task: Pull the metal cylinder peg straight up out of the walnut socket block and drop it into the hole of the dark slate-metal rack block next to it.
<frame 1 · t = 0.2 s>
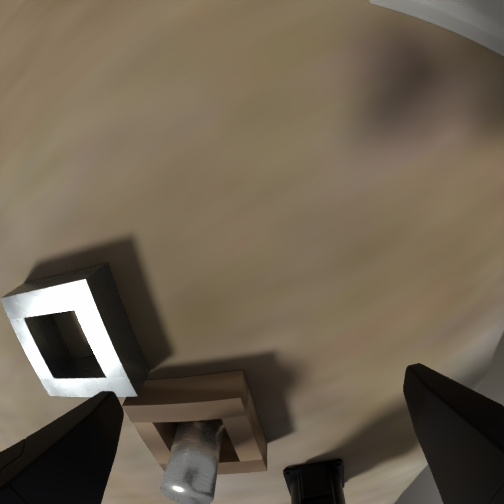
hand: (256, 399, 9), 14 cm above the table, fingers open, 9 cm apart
hinge: (454, 0, 16), on the table
metal cylinder peg: (195, 452, 23), in the socket block
rack block: (81, 327, 25), on the table
socket block: (203, 416, 27), on the table
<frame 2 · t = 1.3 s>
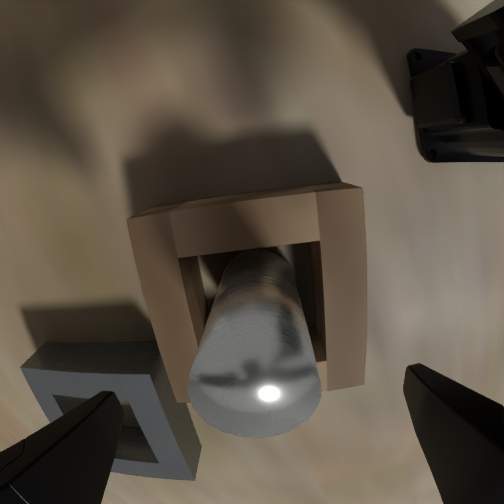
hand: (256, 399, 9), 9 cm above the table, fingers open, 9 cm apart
metal cylinder peg: (256, 325, 13), in the socket block
rack block: (121, 400, 20), on the table
socket block: (258, 285, 18), on the table
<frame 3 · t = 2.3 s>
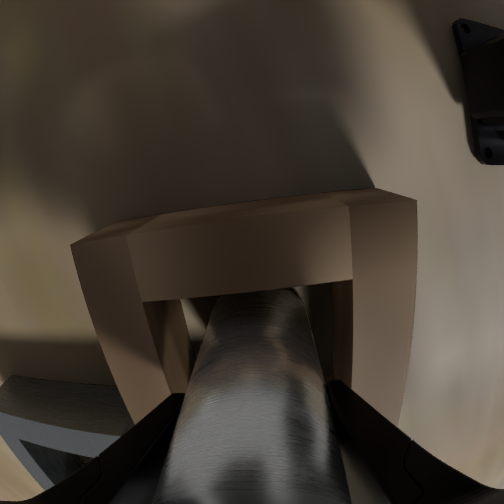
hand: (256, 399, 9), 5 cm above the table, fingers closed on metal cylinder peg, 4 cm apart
metal cylinder peg: (256, 399, 9), in the socket block, touching gripper
rack block: (99, 443, 16), on the table
socket block: (259, 326, 13), on the table
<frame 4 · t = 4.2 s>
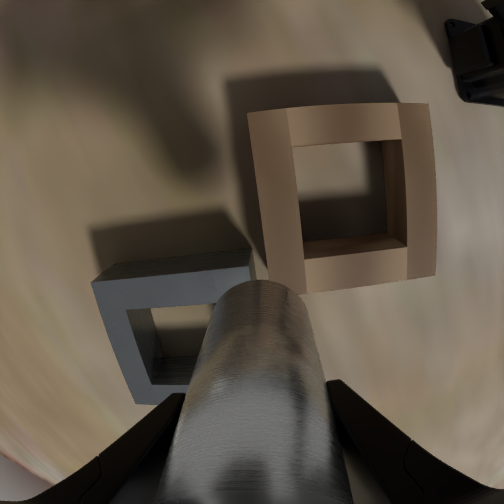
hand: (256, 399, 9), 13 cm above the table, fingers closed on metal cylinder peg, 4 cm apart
metal cylinder peg: (258, 399, 9), point 13 cm above the table, touching gripper
rack block: (192, 322, 23), on the table
socket block: (340, 191, 20), on the table
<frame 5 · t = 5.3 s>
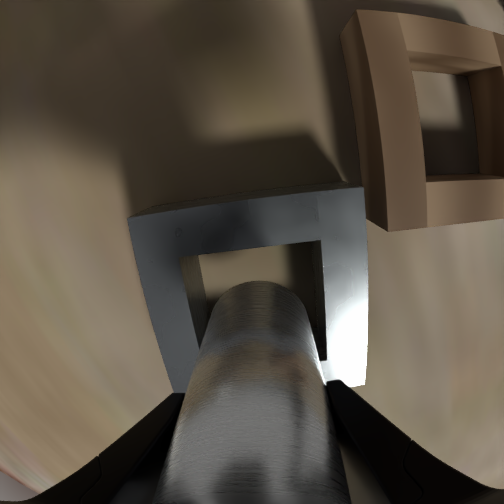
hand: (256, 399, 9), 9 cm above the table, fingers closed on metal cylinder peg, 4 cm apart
metal cylinder peg: (256, 400, 9), point 9 cm above the table, touching gripper
rack block: (258, 284, 18), on the table
socket block: (436, 122, 15), on the table
when the fingers open (6 cm above the table, at t = 6.2 s): metal cylinder peg drops 2 cm, resting in rack block.
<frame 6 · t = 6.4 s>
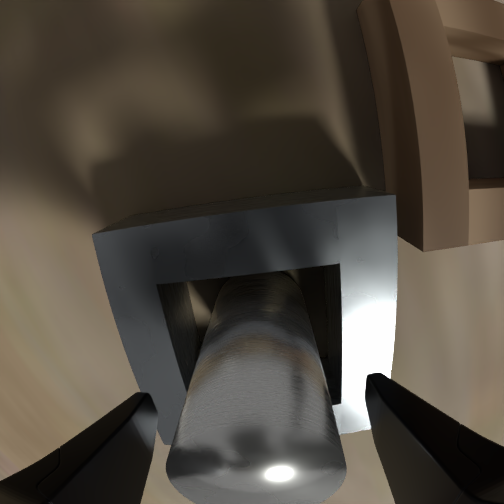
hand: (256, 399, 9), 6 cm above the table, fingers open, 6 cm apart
metal cylinder peg: (259, 369, 10), in the rack block
rack block: (259, 310, 14), on the table
socket block: (469, 116, 11), on the table
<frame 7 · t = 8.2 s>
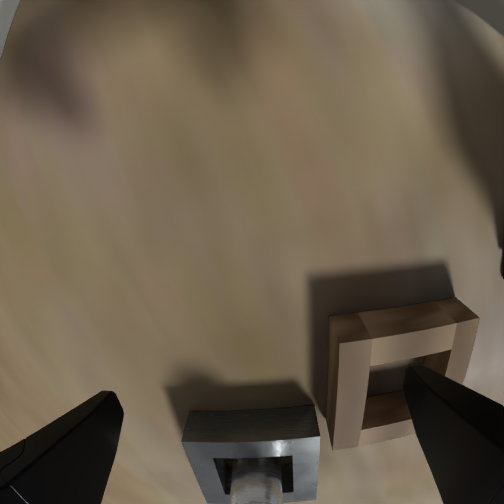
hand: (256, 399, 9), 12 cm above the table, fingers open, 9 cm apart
metal cylinder peg: (256, 486, 20), in the rack block
rack block: (256, 447, 25), on the table
socket block: (391, 364, 22), on the table
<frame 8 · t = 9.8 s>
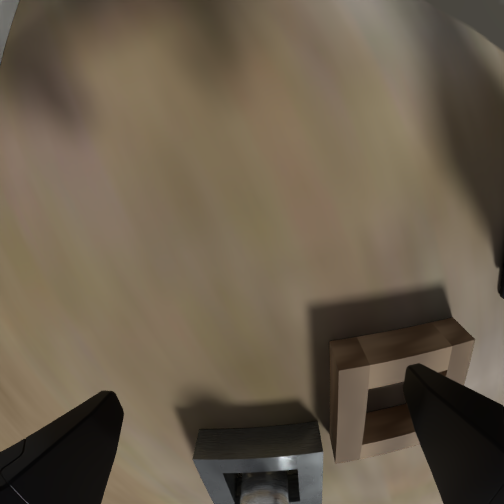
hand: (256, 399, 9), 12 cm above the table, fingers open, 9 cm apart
metal cylinder peg: (264, 497, 21), in the rack block
rack block: (264, 460, 25), on the table
socket block: (390, 382, 22), on the table
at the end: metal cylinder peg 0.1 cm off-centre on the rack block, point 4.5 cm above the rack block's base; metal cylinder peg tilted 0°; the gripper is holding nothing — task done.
